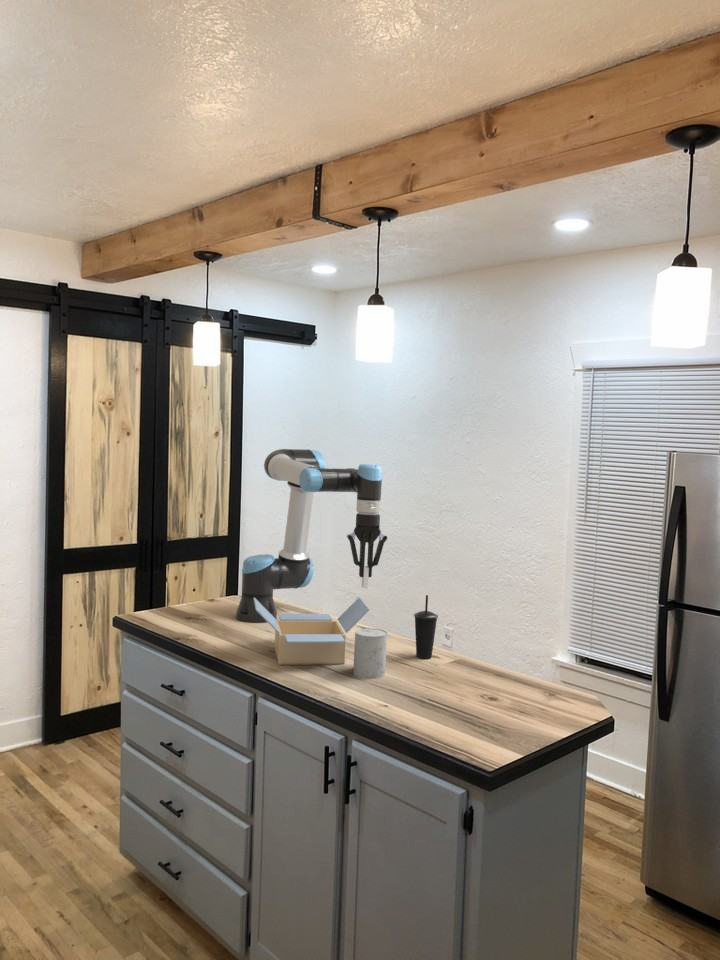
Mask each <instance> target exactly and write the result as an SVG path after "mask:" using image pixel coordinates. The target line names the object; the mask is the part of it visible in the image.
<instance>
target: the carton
mask: <svg viewBox="0 0 720 960" xmlns="http://www.w3.org/2000/svg"><path fill="white" fill-rule="evenodd" d="M277 616H278V617H279V620H276V622H277V625H278V629H279V632H280V633H278V632H277V631H276V630H275V629H274V630H275V631H274V651H275V656H276V659H277V664H278V666H302V665H303V666H304V665H305V666H306V665H307V666H309V665H318V666H319V665H322V666H323V665H345V662H346V661H345V655H346V639H347V637H346V632H345V631H344V629H343V628H342V626H341V624H340V623H339V621H338V620H333V618H332V617H331V615H330V613H278V614H277Z"/></svg>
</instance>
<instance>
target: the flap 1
mask: <svg viewBox="0 0 720 960" xmlns="http://www.w3.org/2000/svg"><path fill="white" fill-rule="evenodd" d="M253 599H254V604H255V609H256V611H257V612H258V613H259V614H260V615H261V616H262V617H263V618H264V619H265V620H266V621H267V622H266V623H268V625H269V626H271V627H272V628H273V630H276V631H277V632H278V633H280V632H279V629H278V625H277V622H276V621H277V618H276V619H275V618H274V617H273V616H272V615H271V614H270V613H269V612H268V611H267V610H266V609H265V608H264V607H263V606H262V605H261V604H260V603H259V602H258V601H257V600H256V599H255V598H253Z"/></svg>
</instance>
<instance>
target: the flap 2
mask: <svg viewBox="0 0 720 960" xmlns="http://www.w3.org/2000/svg"><path fill="white" fill-rule="evenodd" d="M369 611H370V608H369V607H368V606H367V605H366V603H365V602H364V601H363V600H362V599H361V597H357V599H355V601H354V602H352V604H351V605H349V606H348V608H347V609H346V610H345V611H344V612H342V614H340V616H339V617H338V618H337V622H338V624H339V625H340V627H341V628H342V630H343V632H344V633H345V634H348V633H349V631H351V630H352V628H353V627H355V625H357V623H358V622H359V621H360V620H361V619H362V618H364V617H365V615H367V613H369Z"/></svg>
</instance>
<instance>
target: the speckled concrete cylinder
mask: <svg viewBox="0 0 720 960" xmlns="http://www.w3.org/2000/svg"><path fill="white" fill-rule="evenodd" d="M387 637H388V632H387V631H386V630H384V629H380V628H370V627H368V628H367V627H364V628H358V629H355V630H354V651H353V671H352V673H353V675H354V676H356V677H359V678H363V679H371V680H372V679H379V678H383V677H385V676H386V666H387V665H386V662H387V643H388V642H387V639H388V638H387Z"/></svg>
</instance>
